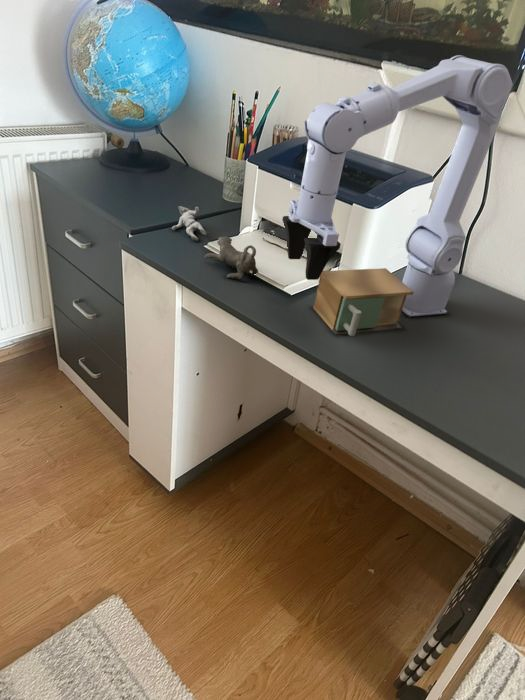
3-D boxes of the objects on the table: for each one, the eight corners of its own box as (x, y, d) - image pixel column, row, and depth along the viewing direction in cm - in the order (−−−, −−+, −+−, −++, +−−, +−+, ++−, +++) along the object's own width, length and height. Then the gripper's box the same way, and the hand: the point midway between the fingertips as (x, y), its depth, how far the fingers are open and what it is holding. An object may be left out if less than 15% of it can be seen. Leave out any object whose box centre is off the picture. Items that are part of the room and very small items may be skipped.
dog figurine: (261, 280, 106) (267, 246, 102) (240, 286, 102) (245, 251, 98) (223, 257, 112) (226, 224, 108) (202, 262, 109) (205, 228, 105)
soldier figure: (180, 246, 116) (160, 211, 122) (192, 255, 121) (172, 221, 126) (208, 224, 115) (186, 190, 120) (218, 234, 119) (197, 201, 125)
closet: (374, 303, 105) (385, 268, 100) (401, 328, 98) (414, 291, 93) (312, 308, 99) (321, 270, 95) (336, 335, 92) (346, 296, 88)
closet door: (373, 325, 96) (383, 294, 92) (385, 336, 93) (395, 306, 90) (334, 328, 93) (342, 297, 89) (345, 340, 90) (354, 309, 86)
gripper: (278, 173, 86) (266, 250, 93) (315, 205, 75) (298, 289, 82) (316, 175, 88) (302, 249, 96) (358, 206, 77) (337, 287, 85)
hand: (302, 268), depth 89 cm, fingers open, 7 cm apart
